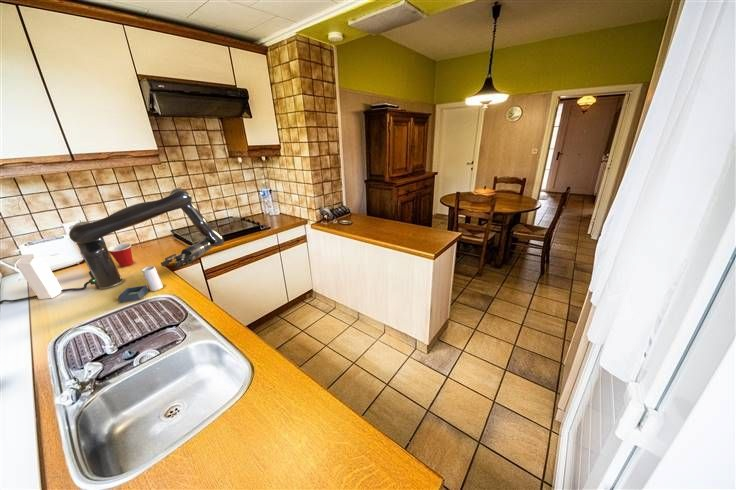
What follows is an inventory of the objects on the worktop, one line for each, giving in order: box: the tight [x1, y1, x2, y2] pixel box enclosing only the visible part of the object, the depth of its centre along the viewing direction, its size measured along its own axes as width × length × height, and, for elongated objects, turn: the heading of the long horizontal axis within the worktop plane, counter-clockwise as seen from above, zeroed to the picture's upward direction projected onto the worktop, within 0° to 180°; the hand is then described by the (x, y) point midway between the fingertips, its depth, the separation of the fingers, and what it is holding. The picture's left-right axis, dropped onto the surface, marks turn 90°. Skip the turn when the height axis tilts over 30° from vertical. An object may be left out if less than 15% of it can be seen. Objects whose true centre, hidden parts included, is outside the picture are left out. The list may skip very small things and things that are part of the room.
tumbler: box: [141, 265, 164, 292], centre depth 128 cm, size 5×5×11 cm
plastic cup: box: [107, 242, 134, 268], centre depth 155 cm, size 11×11×12 cm
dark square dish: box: [117, 284, 150, 303], centre depth 124 cm, size 8×8×3 cm
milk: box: [16, 253, 63, 300], centre depth 125 cm, size 6×6×22 cm
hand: (168, 265), depth 136 cm, fingers open, 8 cm apart
